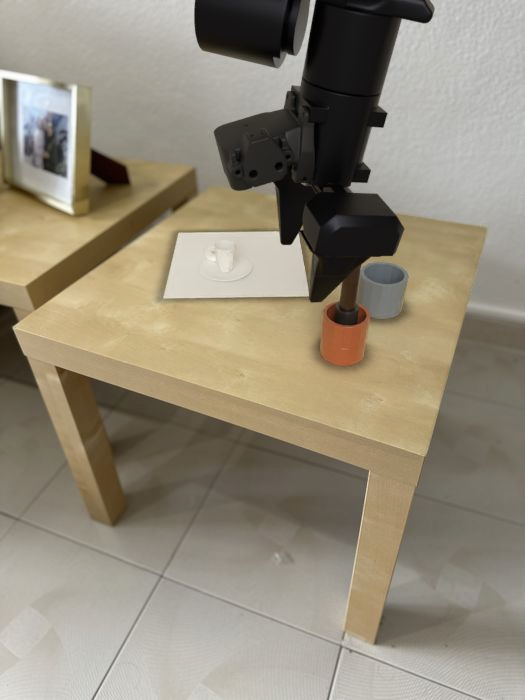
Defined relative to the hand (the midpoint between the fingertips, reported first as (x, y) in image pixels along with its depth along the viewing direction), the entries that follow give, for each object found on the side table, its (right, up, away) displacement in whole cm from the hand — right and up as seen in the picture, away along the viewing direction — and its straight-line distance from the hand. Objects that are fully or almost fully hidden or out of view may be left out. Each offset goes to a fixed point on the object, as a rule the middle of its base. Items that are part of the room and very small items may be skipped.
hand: (299, 270), depth 46 cm
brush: (+6, -5, +13) cm, 15 cm away
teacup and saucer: (-7, +6, +32) cm, 33 cm away
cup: (+12, -1, +22) cm, 25 cm away
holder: (+6, -7, +14) cm, 17 cm away
